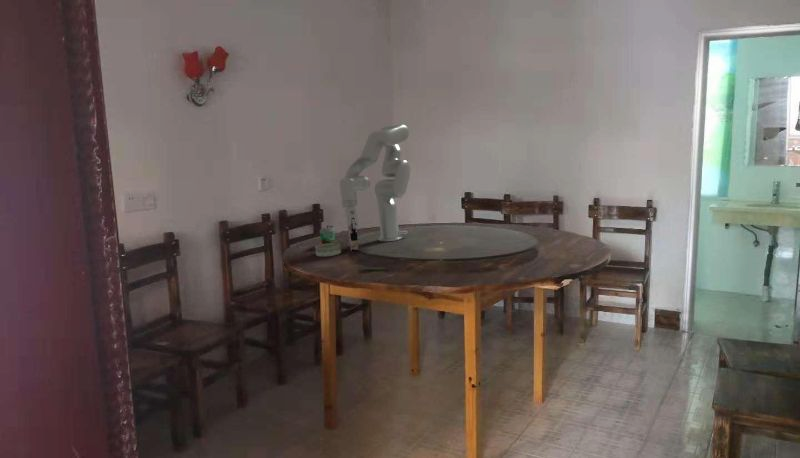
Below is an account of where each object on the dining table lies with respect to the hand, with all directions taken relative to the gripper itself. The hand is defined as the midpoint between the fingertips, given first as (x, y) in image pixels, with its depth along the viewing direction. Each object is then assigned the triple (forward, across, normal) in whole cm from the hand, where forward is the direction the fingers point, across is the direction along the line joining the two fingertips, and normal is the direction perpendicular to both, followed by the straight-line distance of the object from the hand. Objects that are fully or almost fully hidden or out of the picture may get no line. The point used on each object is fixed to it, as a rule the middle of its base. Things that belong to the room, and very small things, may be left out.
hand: (353, 239), depth 310 cm
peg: (+5, 0, 0) cm, 5 cm away
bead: (+5, 0, +13) cm, 14 cm away
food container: (+6, +20, +9) cm, 23 cm away
